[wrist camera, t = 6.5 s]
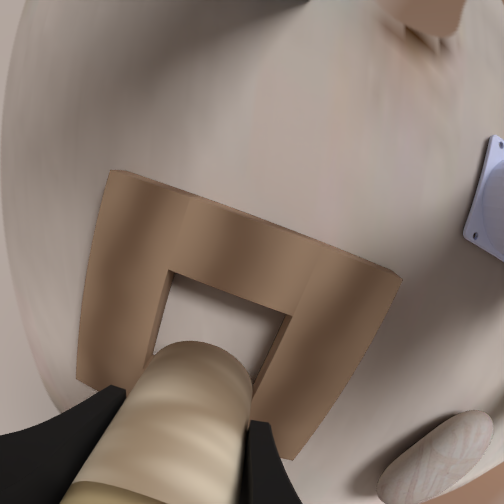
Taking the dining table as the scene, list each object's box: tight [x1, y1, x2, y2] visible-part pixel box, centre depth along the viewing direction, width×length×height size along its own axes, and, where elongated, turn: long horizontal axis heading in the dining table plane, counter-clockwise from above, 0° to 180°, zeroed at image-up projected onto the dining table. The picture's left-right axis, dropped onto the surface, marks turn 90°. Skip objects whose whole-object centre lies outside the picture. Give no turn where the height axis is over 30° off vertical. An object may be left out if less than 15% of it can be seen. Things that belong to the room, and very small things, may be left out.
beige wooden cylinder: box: [59, 341, 252, 504], centre depth 8 cm, size 4×4×8 cm
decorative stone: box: [377, 410, 494, 504], centre depth 19 cm, size 13×9×5 cm
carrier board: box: [76, 170, 403, 460], centre depth 19 cm, size 18×16×2 cm
